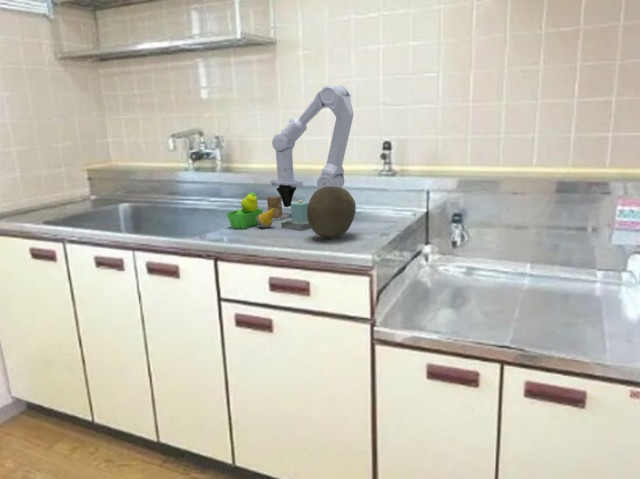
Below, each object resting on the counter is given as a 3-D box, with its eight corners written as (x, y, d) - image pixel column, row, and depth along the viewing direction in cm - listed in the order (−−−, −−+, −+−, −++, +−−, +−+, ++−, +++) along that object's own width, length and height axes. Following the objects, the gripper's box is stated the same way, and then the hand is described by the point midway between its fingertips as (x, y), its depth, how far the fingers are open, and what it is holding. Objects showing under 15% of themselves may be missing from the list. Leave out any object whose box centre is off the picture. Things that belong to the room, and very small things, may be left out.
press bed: (303, 222, 181) (302, 217, 181) (322, 224, 175) (322, 220, 175) (281, 227, 174) (281, 222, 174) (301, 230, 168) (301, 225, 168)
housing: (301, 219, 178) (300, 198, 176) (311, 220, 175) (310, 199, 173) (291, 221, 174) (290, 200, 173) (301, 223, 171) (300, 201, 170)
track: (280, 216, 194) (280, 213, 193) (289, 217, 191) (289, 215, 190) (257, 221, 186) (257, 219, 186) (266, 222, 183) (265, 220, 183)
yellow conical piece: (266, 226, 180) (283, 207, 175) (264, 236, 176) (281, 216, 171) (253, 218, 178) (269, 198, 173) (250, 227, 174) (267, 208, 169)
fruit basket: (247, 221, 187) (244, 189, 184) (268, 223, 182) (265, 190, 180) (226, 228, 177) (223, 194, 175) (247, 230, 173) (244, 195, 170)
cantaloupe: (353, 243, 149) (351, 190, 146) (304, 243, 152) (300, 191, 148) (359, 232, 163) (357, 182, 159) (313, 232, 165) (310, 184, 162)
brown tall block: (274, 214, 191) (273, 196, 189) (282, 215, 188) (281, 196, 187) (268, 216, 189) (267, 197, 187) (276, 217, 186) (274, 198, 185)
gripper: (262, 169, 191) (265, 206, 194) (291, 170, 182) (293, 210, 185) (277, 167, 196) (279, 203, 199) (305, 168, 187) (307, 206, 190)
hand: (287, 206), depth 193 cm, fingers closed
